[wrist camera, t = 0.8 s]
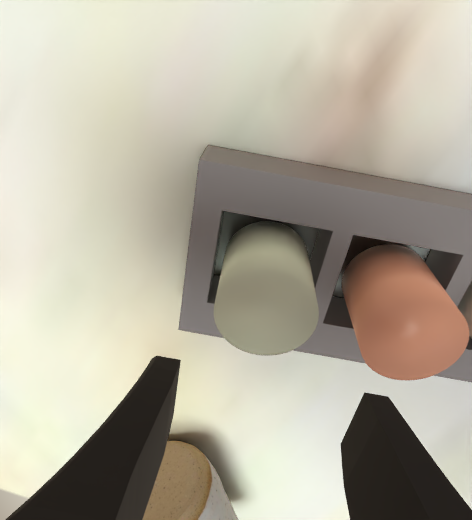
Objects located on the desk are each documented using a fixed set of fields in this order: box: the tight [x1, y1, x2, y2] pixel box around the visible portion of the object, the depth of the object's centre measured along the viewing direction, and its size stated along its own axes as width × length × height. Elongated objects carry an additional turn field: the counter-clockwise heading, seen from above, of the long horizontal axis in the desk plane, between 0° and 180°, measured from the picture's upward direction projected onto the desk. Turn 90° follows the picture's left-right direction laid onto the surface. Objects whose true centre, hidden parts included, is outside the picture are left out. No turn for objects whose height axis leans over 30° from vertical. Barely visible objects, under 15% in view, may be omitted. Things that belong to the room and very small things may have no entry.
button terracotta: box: [341, 244, 469, 380], centre depth 15 cm, size 4×4×4 cm
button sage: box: [214, 221, 319, 355], centre depth 15 cm, size 4×4×4 cm
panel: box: [178, 145, 472, 382], centre depth 17 cm, size 17×8×2 cm, turn 81°
